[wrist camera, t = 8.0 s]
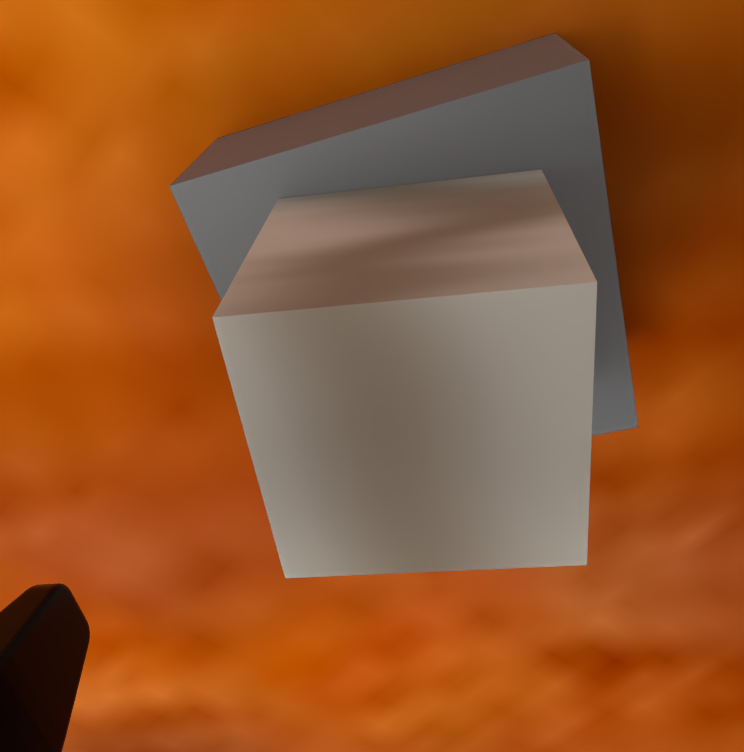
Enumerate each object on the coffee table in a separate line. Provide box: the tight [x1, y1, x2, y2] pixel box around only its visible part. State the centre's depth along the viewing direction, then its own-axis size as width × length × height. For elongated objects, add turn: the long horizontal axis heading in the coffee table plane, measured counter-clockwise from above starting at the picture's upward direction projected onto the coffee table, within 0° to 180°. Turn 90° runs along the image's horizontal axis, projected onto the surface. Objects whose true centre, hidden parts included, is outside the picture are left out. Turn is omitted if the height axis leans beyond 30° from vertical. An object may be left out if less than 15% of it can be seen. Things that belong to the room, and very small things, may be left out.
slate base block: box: [169, 33, 638, 436], centre depth 17 cm, size 8×8×4 cm
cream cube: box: [212, 169, 597, 578], centre depth 13 cm, size 5×5×5 cm
